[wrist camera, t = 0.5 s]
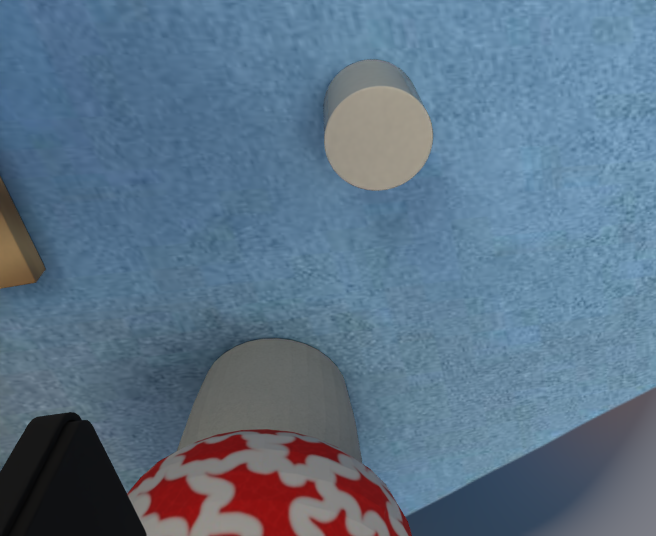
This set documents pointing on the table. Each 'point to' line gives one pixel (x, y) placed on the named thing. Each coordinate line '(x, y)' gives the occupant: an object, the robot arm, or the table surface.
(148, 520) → the decorative object
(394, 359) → the table surface
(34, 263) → the board
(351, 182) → the beige cylinder
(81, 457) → the robot arm
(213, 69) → the table surface
